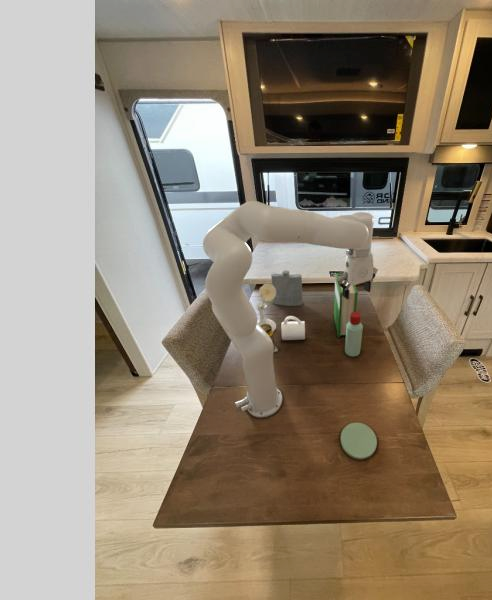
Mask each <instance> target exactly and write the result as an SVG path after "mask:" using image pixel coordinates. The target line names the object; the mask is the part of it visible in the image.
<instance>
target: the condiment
mask: <svg viewBox="0 0 492 600" xmlns="http://www.w3.org/2000/svg"><path fill="white" fill-rule="evenodd" d="M260 327H262V329H263V330H264V331H265V332H266V333H267V334H268V335H269V337H270V338H271V340H272V342H273V345H274V351H273V354H274V353H275V352H276V353H277V352H278V351H279V349H278V347H277V346H276V345H275V343H276V342H275V337H274V336H275V335H274V332H273V331H272V327H271V326H270V325H269V324H263V325H261V326H260Z"/></svg>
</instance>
